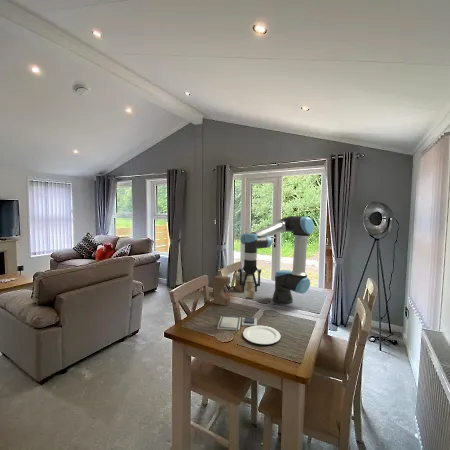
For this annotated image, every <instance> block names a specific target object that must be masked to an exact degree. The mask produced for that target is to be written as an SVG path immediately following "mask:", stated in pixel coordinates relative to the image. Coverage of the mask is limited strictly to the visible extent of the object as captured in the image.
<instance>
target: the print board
mask: <svg viewBox="0 0 450 450" xmlns="http://www.w3.org/2000/svg"><path fill="white" fill-rule="evenodd" d="M241 323H242V317H240V316H227V315H221V316H220V319H219V321H218V324H217V327H216V328H217V329H218V330H230V331H240V328H241Z"/></svg>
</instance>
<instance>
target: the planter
mask: <svg viewBox="0 0 450 450" xmlns="http://www.w3.org/2000/svg"><path fill="white" fill-rule="evenodd" d="M245 274H246V272H245V271H243V272H242V283H243V281H244V278H245ZM234 275H235V279H234V280H235V281H234V290H236V291H237V292H240V293H244V291H242V285H240V272H239V271H238V272H236V273H235V274H234ZM246 280H248V281H254V280H253V276H252V275H251V274H249V275H247V279H246ZM245 285H246V282H245Z"/></svg>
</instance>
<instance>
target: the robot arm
mask: <svg viewBox="0 0 450 450" xmlns="http://www.w3.org/2000/svg"><path fill="white" fill-rule="evenodd" d="M314 230H315V224H314V221H313V219H312V218H310V217H309V216H299V215H298V216H296V215H295V216H294V215H290V216H287V217H286V216H285V217H283V218H281V219H278V220H276V222H274V223H272V224H269V225H267V226H265V227H262V228H260V229H257V230H255V231H252V232H249V233H243V234H241V235H240V243H241V244H242V245H244V248H243V249H244V253H243V255H244V256H243V257H244V259H243V266H242V268H239V269H238V272H240V285H242V291H244V292H243V298H245V282H246V279H247V275H249V274H251V275H252V276H253V280H254V298H255V297H256V292H258V287H260V286H261V273H262V268H261V269H259V268H258V267H257V264H258V263H257V262H258V261H257V258H258V250H259V249H266V248H267V249H268V248H271V246H272V245H273V240H272V238H271V237H273V236H275V235H277V234H279V233H280V234H282V233H286V232H289V233H292V236H293V237H294V242H293V243H294V245H293V257H292V258H293V259H292V260H293V261H292V270H289V269H282V270H277V271H276V272H275V275H274V292H273V294H272V301H273V302H274V303H276V304H281V305H289V304H292V303H293V300H294V299H293V294H292V292H295V293H298V294H306V293H307V292H308V290H309V288H310V285H311V280H310V278H309V277H308V274H307V272H306V264H307V263H306V262H307V250H308V249H307V246H308V239H309V238H310V236H311V234H313V232H314ZM242 272H246V274H245V278H244V281H243V283H242ZM256 272H257V278H256V275H255V273H256ZM256 279H257V280H256Z"/></svg>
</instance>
